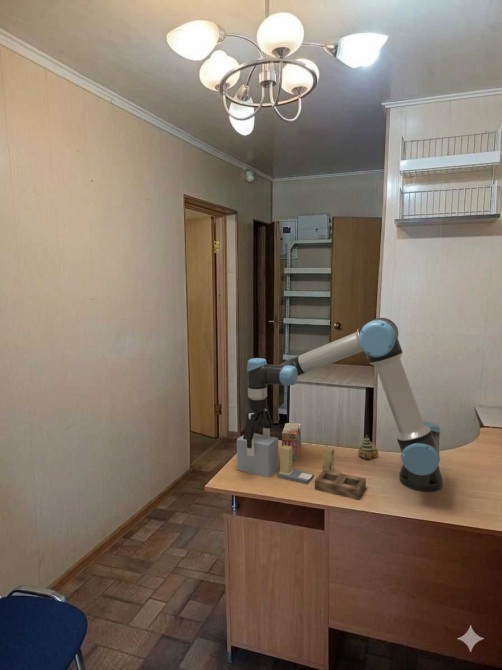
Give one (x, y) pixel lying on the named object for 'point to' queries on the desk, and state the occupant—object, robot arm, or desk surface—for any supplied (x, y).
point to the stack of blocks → (292, 438)
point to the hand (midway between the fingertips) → (259, 449)
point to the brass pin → (328, 459)
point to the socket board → (340, 484)
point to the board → (295, 476)
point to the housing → (258, 455)
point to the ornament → (367, 449)
